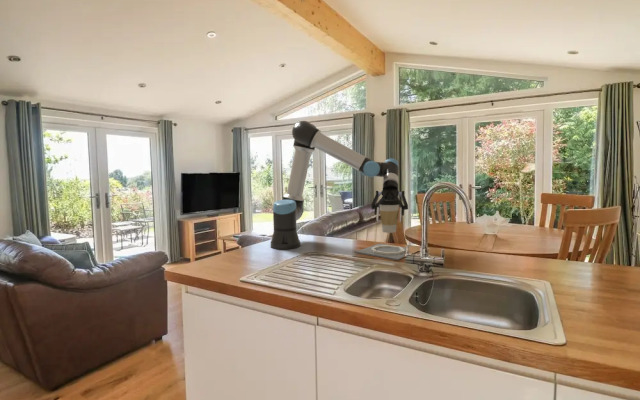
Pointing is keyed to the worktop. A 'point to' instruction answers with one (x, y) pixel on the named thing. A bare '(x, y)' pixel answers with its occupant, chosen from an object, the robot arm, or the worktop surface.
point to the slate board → (384, 251)
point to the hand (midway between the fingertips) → (388, 220)
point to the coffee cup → (389, 214)
